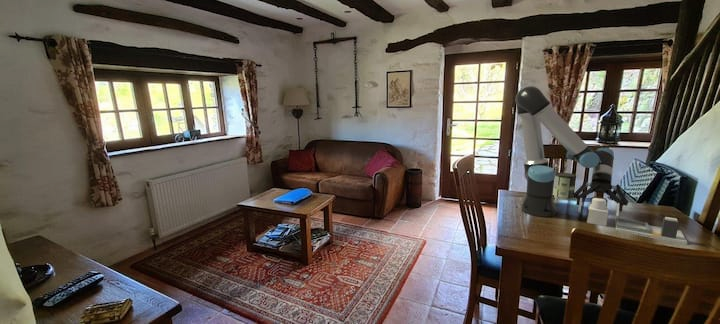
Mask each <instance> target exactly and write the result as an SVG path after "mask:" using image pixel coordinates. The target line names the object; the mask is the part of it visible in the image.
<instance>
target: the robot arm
mask: <svg viewBox="0 0 720 324" xmlns="http://www.w3.org/2000/svg"><path fill="white" fill-rule="evenodd" d="M514 101H515V106H516V111H517V115H518V116H519V117H520V119H521V124H522V125H521V126H522V133H523V135H522V136H523V142H524V149H525V158H526V160H525V161H524V162H523V167H524V179H526V182H527V184H526V192H525V193H526V194H525V198H524V200H523V201H522V203H521V206H520V207H521V208H520V210H521V212H523V213H525V214H528V215H531V216H536V217H543V218H545V217H553V216H555V214H556V209H555V205H554V201H553V194H554V184H555V173H556V171H555V169H554V168H552V167H551V166H549V165H550V163H549V160H548V159H546V158H545V151H544V150H545V149H544V143H543V133H542V125H543V126H544V127H545V128H546V129H547V130H548V131H549V132H550V134H551V135H552V136H554V137H555V139H556V140H557V141H558V142H559V143H560V145H562V146H563V147H564V148H565V150H566V151H567V152H566V156H565V158H566V159H568V160H570V161H575V162H576V163H578V164H579V165H581V166H582V167H583V168H587V169H592V175H591V182H587V180H584V181H583V183H582V185H581V186H580V187H578V189H577V190H576V191H574V194H573V198H574V199H576V205H577V206H578V213H581V211H582V204H583V198H585V197H586V196H589V195H590V194H593V193H597V194H603V195H604V194H606V195H607V196H609V197H610V198H611V199H612V200H613V201H614V202H615V203H616V207H615V208H616V209H615V219H616V218H617V219H618V218H619V215H620V212H623V206H626V207H627V206H628V204H629V201H628V199H627V197H626V196H625V194H624V193H623V191H622V189H621V186H620V185H619V184H616V185H613V184H612V180H613V167H614V160H615V154H614V151H613V149H611V148H608V147H604V148H603V147H600V148H597V149H596V150H593V149H592V148H591V147H589V146H588V144H587V143H585V142H584V140H583V139H582V138H581V137H580V136H579V135H578V134H577V133H576V132H575V131H574V130H573V129H572V127H570V125H569V124H568V123H567V122H566V121H565V119H563V118H562V117H561V116H560V114H558V113H557V112H556V111H555V109H553V108H552V105H551V104H552V103H551V102H550V101H549V100H548V99H547V97H546V96H545V94H544V93H543V91H541V89H539V87H537V86H526V87H524V88H521V89H520V90H519V91H517V93H516V95H515V99H514ZM541 124H542V125H541ZM588 187H589V188H588ZM586 188H588V189H586ZM585 189H586V190H585ZM612 189H613V190H614V191H615V192H616V194H617V195H616V194H615V193H614V192H613V191H612ZM584 190H585V191H584ZM583 191H584V192H583Z"/></svg>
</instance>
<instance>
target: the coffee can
mask: <svg viewBox="0 0 720 324" xmlns="http://www.w3.org/2000/svg"><path fill="white" fill-rule="evenodd" d="M576 179H577V174H575V173H571V172H555V178H554V187H553V195H554V197H553V198H556V199H559V200H566V201H570V200H571V201H572V200H574V199H575V198H573V194H574V193H575V189H576V188H575V187H576V181H577V180H576Z"/></svg>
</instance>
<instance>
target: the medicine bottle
mask: <svg viewBox="0 0 720 324" xmlns="http://www.w3.org/2000/svg"><path fill="white" fill-rule="evenodd" d="M608 217H609V209H608V199H607V198H604V197H602V196H592V197H591V198H590V204H588V206H587V212H586V224H591V225H597V226H601V227H607V223H608Z"/></svg>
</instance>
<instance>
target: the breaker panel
mask: <svg viewBox="0 0 720 324" xmlns="http://www.w3.org/2000/svg"><path fill="white" fill-rule="evenodd" d="M614 222H615V231H616V232H617V231H618V232H619V233H623V232H625V233H624V234H628V233H629V235H633V234H634V236H638V235H639V236H638V237H644V238H650V239H655V240H660V239H661V240H660V241H665V240H668V241H667V242H670V241H672V243H675V242H676V244H682V245H686V244H687V245H688V241H687V239H686V237H685V236H684V234H683V233H682V230H679V229H678V230H677V235H676V239H674V238H669V237H664V236H661V228H662V226H655V225H649V223H648V222H647V221H641V220H640V221H639V220H635V219H628V218H623V217H622V218H621V217H618V219H617V218H616V217H615V221H614Z"/></svg>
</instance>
